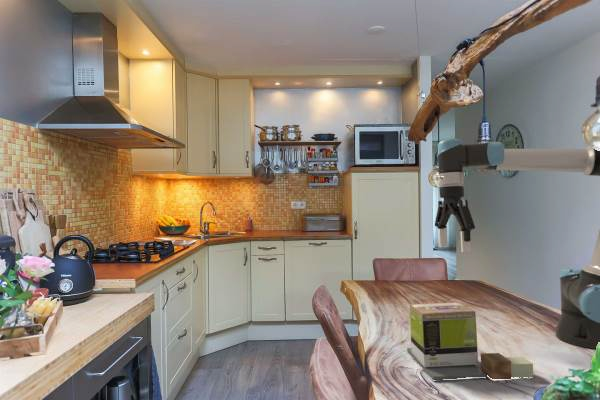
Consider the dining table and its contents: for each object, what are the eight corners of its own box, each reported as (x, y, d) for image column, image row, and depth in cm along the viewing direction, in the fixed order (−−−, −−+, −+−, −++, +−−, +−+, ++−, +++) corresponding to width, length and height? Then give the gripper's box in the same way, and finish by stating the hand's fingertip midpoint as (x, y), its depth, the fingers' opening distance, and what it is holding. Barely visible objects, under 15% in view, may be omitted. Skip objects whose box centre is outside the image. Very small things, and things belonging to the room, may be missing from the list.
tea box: (459, 351, 103) (458, 301, 104) (478, 366, 93) (477, 311, 94) (410, 352, 103) (409, 302, 103) (424, 368, 93) (422, 312, 93)
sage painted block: (522, 371, 93) (522, 356, 93) (533, 379, 89) (533, 363, 89) (500, 372, 93) (500, 357, 93) (510, 380, 89) (509, 364, 89)
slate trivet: (451, 350, 107) (451, 346, 107) (486, 378, 89) (486, 374, 89) (407, 351, 106) (407, 348, 106) (433, 381, 88) (433, 376, 88)
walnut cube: (499, 371, 93) (498, 352, 93) (511, 381, 88) (511, 361, 88) (481, 372, 93) (480, 353, 93) (492, 381, 88) (491, 361, 88)
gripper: (423, 188, 128) (425, 246, 128) (462, 183, 104) (465, 254, 103) (442, 188, 129) (445, 245, 129) (485, 182, 104) (488, 253, 104)
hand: (454, 249), depth 116 cm, fingers open, 13 cm apart
